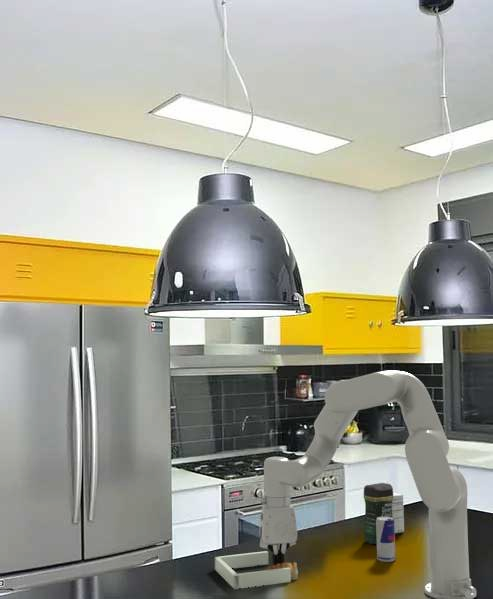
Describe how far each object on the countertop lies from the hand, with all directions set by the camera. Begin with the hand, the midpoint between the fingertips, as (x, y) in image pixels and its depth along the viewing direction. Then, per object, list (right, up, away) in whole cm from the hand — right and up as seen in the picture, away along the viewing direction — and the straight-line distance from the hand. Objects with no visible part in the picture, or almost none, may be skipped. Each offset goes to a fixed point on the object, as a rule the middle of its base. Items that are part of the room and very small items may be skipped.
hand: (278, 567), depth 200 cm
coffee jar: (+34, -3, +29) cm, 45 cm away
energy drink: (+32, -2, +9) cm, 34 cm away
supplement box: (+40, -4, +42) cm, 59 cm away
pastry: (+1, -1, -5) cm, 5 cm away
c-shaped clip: (-8, -1, -3) cm, 8 cm away
